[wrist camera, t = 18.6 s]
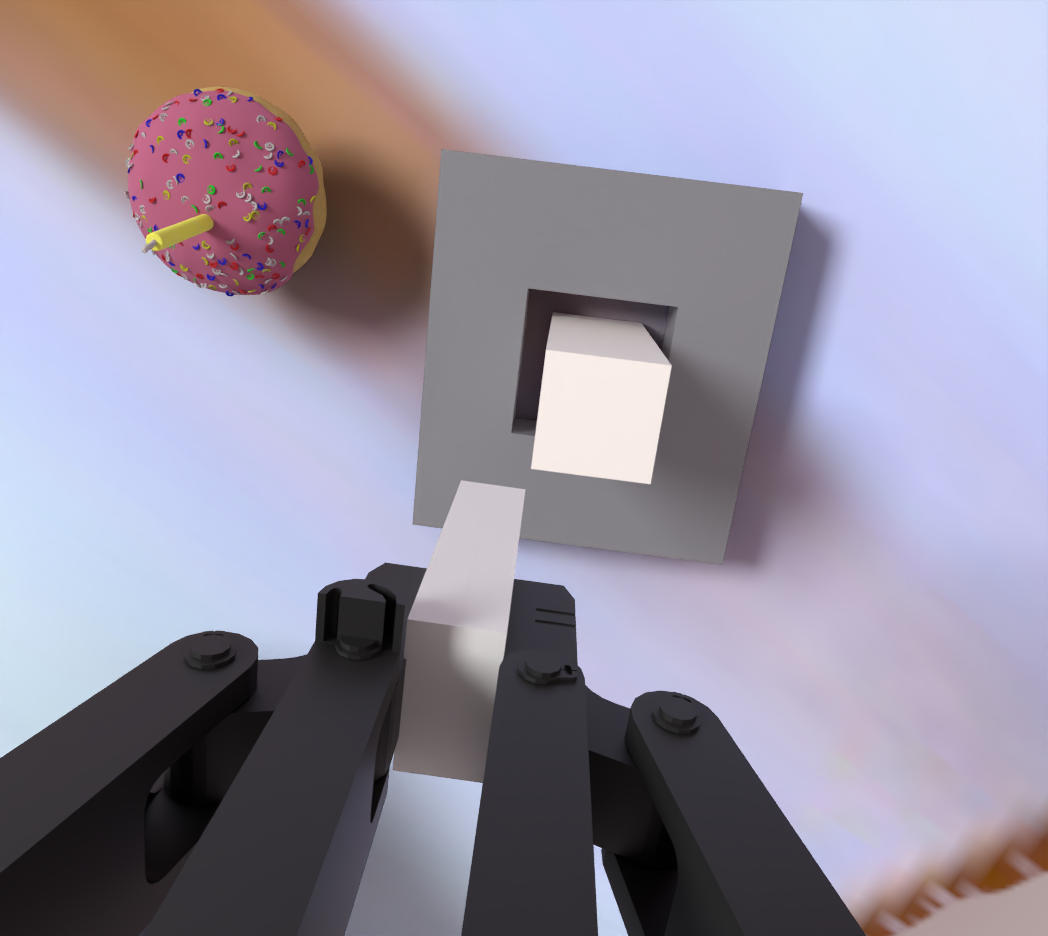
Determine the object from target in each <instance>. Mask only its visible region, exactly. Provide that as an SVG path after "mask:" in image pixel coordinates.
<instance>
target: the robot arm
mask: <svg viewBox="0 0 1048 936" xmlns="http://www.w3.org/2000/svg"><path fill="white" fill-rule="evenodd" d="M524 497H525V489H519V488H512V487H505V486H498V485H491V484H484V483H477V482H469V481H462V480H461V482H460V485H459V487H458V490H457V492H456V495H455V498H454V500H453V503H452V505H451V508H450V511H449V513H448V516H447V518H446V521H445V523H444V526H443V529H442V531H441V534H440V536H439V539H438V542H437V544H436V547H435V549H434V552H433V554H432V557H431V560H430V562H429V565H428V567H427V569H426V568H419V567H412V566H405V565H398V564H391V563H384V564H383V565H381V566H379V567H377V568H376V569H374V570H372V571H371V572H369V573H368V575H367V577H366V579H351V580H343V581H338V582H335V583H333V584H330V585H327V586H325V587H324V588H323V589H322V590H321V591H320V592H319V593H318V601H317V619H316V637H315V642H314V644H313V646H312V647H311V649H310V651H309V653H308V654H307V655H303V656H299V657H295V658H286V659H271V660H258V647H257V646H256V645H255V643H254V642H253V641H252V640H251V639H249V638H247V637H245V636H242V635H240V634H237V633H231V632H225V631H215V632H213V631H205V632H202V633H198V634H193V635H189V636H186V637H184V638H182V639H180V640H177V641H175V642H173V643H171V644H170V645H168V646H167V647H165V648H164V649H162V650H161V651H159V652H158V653H157V654H155V655H154V656H152V657H151V658H149V659H148V660H146V661H145V662H143V663H142V664H140V665H139V666H137V667H136V668H134V669H133V670H131V671H130V672H128V673H127V674H125V675H124V676H122V677H121V678H119V679H118V680H116V681H115V682H113V683H112V684H110V685H109V686H107V687H106V688H104V689H103V690H101V691H100V692H98V693H97V694H95V695H94V696H92V697H91V698H89V699H88V700H86V701H85V702H83V703H82V704H80V705H79V706H77V707H76V708H75V709H73V710H72V711H70V712H69V713H67V714H66V715H64V716H63V717H61V718H60V719H58V720H57V721H55V722H54V723H52V724H51V725H49V726H48V727H46V728H45V729H43V730H42V731H40V732H39V733H37V734H36V735H34V736H33V737H31V738H30V739H28V740H27V741H25V742H24V743H22V744H21V745H19V746H18V747H16V748H15V749H13V750H12V751H10V752H9V753H7V754H6V755H4V756H3V757H1V758H0V936H344V935H345V931H346V928H347V925H348V921H349V918H350V915H351V911H352V908H353V905H354V901H355V898H356V895H357V891H358V888H359V885H360V881H361V878H362V875H363V871H364V868H365V865H366V861H367V858H368V855H369V851H370V848H371V845H372V841H373V838H374V835H375V831H376V828H377V825H378V821H379V818H380V815H381V811H382V808H383V805H384V801H385V798H386V795H387V788H388V777H389V767H390V763H391V760H392V757H393V754H394V762H393V770H395V771H402V772H410V773H417V774H424V775H431V776H438V777H445V778H452V779H459V780H466V781H473V782H480V783H483V786H482V793H481V800H480V808H479V815H478V822H477V829H476V836H475V843H474V850H473V857H472V864H471V871H470V878H469V885H468V892H467V900H466V907H465V914H464V921H463V928H462V935H461V936H598V926H597V907H596V888H595V868H594V849H593V845H596V846H598V847H601V848H602V850H601V852H602V861H603V866H604V869H605V871H606V874H607V877H608V880H609V883H610V885H611V888H612V891H613V894H614V897H615V899H616V902H617V905H618V908H619V911H620V914H621V916H622V919H623V922H624V925H625V928H626V930H627V933H628V936H866V935H865V933H864V932H863V930H862V929H861V927H860V926H859V924H858V923H857V921H856V920H855V918H854V917H853V915H852V914H851V913H850V911H849V910H848V908H847V907H846V905H845V904H844V902H843V901H842V899H841V898H840V896H839V895H838V893H837V892H836V890H835V889H834V887H833V886H832V885H831V883H830V882H829V880H828V879H827V877H826V876H825V874H824V873H823V871H822V870H821V868H820V867H819V865H818V864H817V862H816V861H815V860H814V858H813V857H812V855H811V854H810V852H809V851H808V849H807V848H806V846H805V845H804V843H803V842H802V840H801V839H800V837H799V836H798V834H797V833H796V832H795V830H794V829H793V827H792V826H791V824H790V823H789V821H788V820H787V818H786V817H785V815H784V814H783V812H782V811H781V809H780V808H779V807H778V805H777V804H776V802H775V801H774V799H773V798H772V796H771V795H770V793H769V792H768V790H767V789H766V787H765V786H764V784H763V783H762V781H761V780H760V779H759V777H758V776H757V774H756V773H755V771H754V770H753V768H752V767H751V765H750V764H749V762H748V761H747V759H746V758H745V756H744V755H743V754H742V752H741V751H740V749H739V748H738V746H737V745H736V743H735V742H734V740H733V739H732V737H731V736H730V734H729V733H728V731H727V730H726V728H725V727H724V726H723V724H722V723H721V721H720V720H719V718H718V717H717V716H716V715H715V714H714V713H713V712H712V711H711V710H710V709H709V708H708V707H707V706H705V705H704V704H702V703H700V702H699V701H697V700H695V699H694V698H691V697H689V696H686V695H682V694H680V693H676V692H667V691H654V692H647V693H644V694H642V695H641V696H639V697H637V698H635V700H634V702H633V704H632V706H631V709H629V708H627V707H624V706H621V705H618V704H615V703H613V702H611V701H608V700H606V699H604V698H602V697H600V696H599V695H597V694H595V693H594V692H592V691H591V690H590V689H589V688H588V687H587V686H586V685H585V678H584V675H583V673H582V670H581V668H580V667H578V665H577V642H576V618H575V599H574V598H573V597H572V596H571V594H570V593H569V592H568V591H567V589H566V588H565V587H564V586H561V585H554V584H547V583H540V582H532V581H525V580H518V579H514V575H515V567H516V559H517V551H518V544H519V536H520V528H521V520H522V512H523V505H524ZM394 750H395V752H394Z"/></svg>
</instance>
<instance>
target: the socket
mask: <svg viewBox="0 0 1048 936" xmlns="http://www.w3.org/2000/svg"><path fill="white" fill-rule="evenodd" d="M802 196H803V193H798V192H790V191H781V190H773V189H765V188H757V187H749V186H740V185H732V184H724V183H716V182H708V181H699V180H691V179H683V178H675V177H666V176H658V175H650V174H642V173H634V172H625V171H617V170H609V169H601V168H593V167H584V166H576V165H568V164H560V163H551V162H543V161H535V160H527V159H519V158H510V157H502V156H494V155H486V154H478V153H469V152H461V151H453V150H445V149H441V162H440V175H439V188H438V201H437V214H436V227H435V240H434V253H433V266H432V279H431V292H430V305H429V318H428V331H427V344H426V357H425V370H424V383H423V396H422V409H421V422H420V435H419V448H418V461H417V474H416V487H415V500H414V513H413V525H421V526H429V527H436V528H443V526H444V523H445V521H446V518H447V516H448V513H449V511H450V508H451V505H452V503H453V500H454V498H455V495H456V492H457V490H458V487H459V485H460V482H461V480H462V481H469V482H477V483H484V484H491V485H498V486H505V487H512V488H519V489H525V497H524V505H523V512H522V520H521V528H520V536H519V538H521V539H529V540H536V541H544V542H552V543H559V544H567V545H575V546H583V547H590V548H598V549H606V550H613V551H621V552H629V553H636V554H644V555H652V556H660V557H667V558H675V559H683V560H690V561H698V562H706V563H713V564H721V565H722V563H723V559H724V554H725V550H726V545H727V541H728V536H729V531H730V527H731V522H732V518H733V513H734V508H735V504H736V499H737V495H738V490H739V485H740V481H741V476H742V472H743V467H744V462H745V458H746V453H747V449H748V444H749V439H750V435H751V430H752V426H753V421H754V416H755V412H756V407H757V403H758V398H759V393H760V389H761V384H762V380H763V375H764V370H765V366H766V361H767V357H768V352H769V347H770V343H771V338H772V334H773V329H774V324H775V320H776V315H777V311H778V306H779V301H780V297H781V292H782V288H783V283H784V278H785V274H786V269H787V265H788V260H789V255H790V251H791V246H792V242H793V237H794V232H795V228H796V223H797V219H798V214H799V209H800V205H801V200H802ZM530 289H537V290H545V291H553V292H561V293H569V294H577V295H585V296H594V297H602V298H610V299H618V300H626V301H634V302H642V303H650V304H658V305H666V306H669V310H668V316H667V322H666V327H665V333H664V339H663V345H662V350H661V351H662V353H663V354H664V355H665V357H666V358H667V360H668V361H669V363H670V364H671V365H672V367H671V372H670V378H669V383H668V389H667V395H666V400H665V406H664V411H663V417H662V423H661V428H660V434H659V439H658V445H657V451H656V456H655V462H654V467H653V473H652V479H651V484H645V483H637V482H629V481H621V480H613V479H606V478H598V477H590V476H582V475H575V474H567V473H559V472H551V471H544V470H536V469H531V465H532V457H533V449H534V441H535V433H536V425H537V421H533V420H525V419H517V418H515V415H516V407H517V398H518V390H519V381H520V372H521V364H522V355H523V347H524V338H525V330H526V321H527V313H528V304H529V295H530Z"/></svg>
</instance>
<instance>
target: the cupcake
mask: <svg viewBox="0 0 1048 936" xmlns="http://www.w3.org/2000/svg"><path fill="white" fill-rule="evenodd" d="M131 148H132V150H131V155H130V158H127V160H126V165H127V166H128V168H129V169H128V190H129V192H128V191H125V192H124V194H125V196H126V197H127V198H129V199H130V202H131V206H132V210H133V217H134V218H135V219H136V221H137V224H138V226H139V228H140V230H141V232H142V234H143V235H144V237H145V239H146V243H147V244H146V245H144V246H143V248H142V252H143V253H147V252H148V250H150V249H152V252H153V255H155V254H156V255H157V256H158V257H159V258H160V260H161V261H162V262H163V263H164V264H165V265H167V266H168V267H169V268H170V269H171V270H172V271H173V272H174V273H176V274H177V275H179V276H181V277H183V278H184V279H186V280H188V281H190V282H192V283H195V284H196V285H197V286H198V287H200V288H208V289H211V290H214V291H219V292H223V293H226V295H227V296H233V295H257V294H265V293H267V292H270V291H273V290H275V289H277V288H279V287H281V286H282V285H284V284H285V283H286V282H288V281H289V279H290V278H291V277H292V274H293V273H294V272H296V271H297V270H298V269H299V268H300V267H301V266H303V265H304V264H305V263H306V262H307V261H308V260H309V259H310V257H311V256H312V254H313V252H314V250H315V248H316V245H317V243H318V241H319V239H320V237H321V235H322V233H323V230H324V228H325V224H326V218H327V207H326V195H325V189H324V182H323V169H322V165H321V162H320V160H319V158H318V156H317V155H316V153H315V151H314V150H313V148H312V147H311V145H310V143H309V142H308V140H307V139H306V137H305V136H304V134H303V132H302V131H301V129H300V127H299V126H298V124H297V123H296V122H295V121H294V119H293V118H292V117H290V116H289V115H288V114H287V113H285V112H284V111H282V110H281V109H279V108H278V107H276V106H274V105H273V104H271V103H270V102H268V101H267V100H265V99H264V98H262V97H260V96H258V95H256V94H254V93H252V92H249V91H246V90H241V89H235V88H229V87H208V88H202V89H195V90H194V91H193V92H191V93H187V94H182V95H179V96H176V97H174V98H172V99H170V100H169V101H167V102H165V103H164V104H163V105H161V106H160V107H159V108H158V109H156V110H155V111H154V112H153V113H152V114H151V115H150V116H149V117H148V118H147V119H145V120H144V121H143V122H142V123H141V124H140V126H139V127H138V129H137V130H136V133H135V136H134V141H133V144H132V145H131V146H130V147H129V148H128V149H129V150H130V149H131ZM128 163H129V165H128ZM128 194H129V195H128ZM127 195H128V196H129V197H128V196H127ZM154 252H155V253H154ZM230 294H231V295H230Z"/></svg>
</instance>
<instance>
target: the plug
mask: <svg viewBox="0 0 1048 936" xmlns="http://www.w3.org/2000/svg"><path fill="white" fill-rule="evenodd" d="M671 367H672V365H671V364H670V363H669V361H668V360H667V358H666V357H665V355H664V354H663V353H662V351H661V350H660V348H659V347H658V346H657V344H656V343H655V341H654V340H653V339H652V337H651V336H650V334H649V333H648V332H647V330H646V329H645V327H644V326H643V325H642V323H637V322H629V321H621V320H613V319H605V318H597V317H589V316H581V315H573V314H565V313H557V312H553V314H552V320H551V325H550V331H549V336H548V341H547V347H546V354H545V362H544V370H543V377H542V385H541V393H540V401H539V409H538V417H537V425H536V433H535V441H534V449H533V457H532V465H531V469H536V470H544V471H551V472H559V473H567V474H575V475H582V476H590V477H598V478H606V479H613V480H621V481H629V482H637V483H645V484H651V479H652V473H653V467H654V462H655V456H656V451H657V445H658V439H659V434H660V428H661V423H662V417H663V411H664V406H665V400H666V395H667V389H668V383H669V378H670V372H671Z"/></svg>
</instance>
